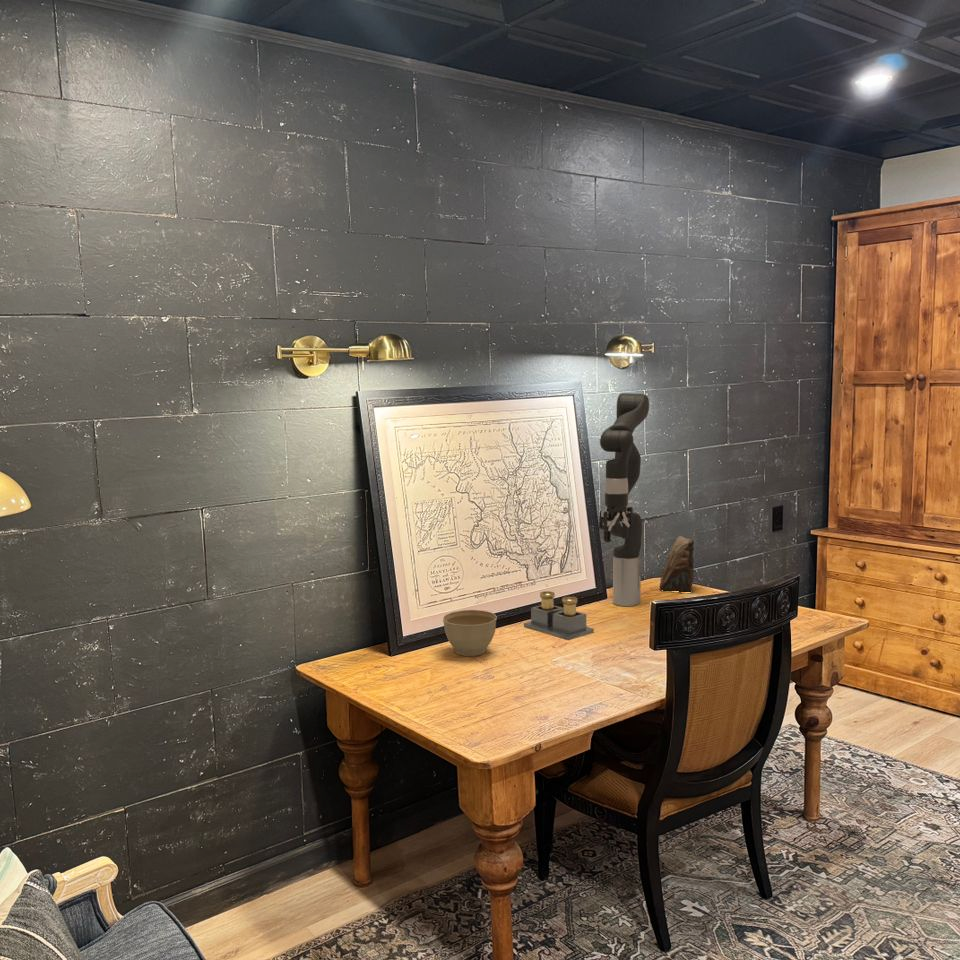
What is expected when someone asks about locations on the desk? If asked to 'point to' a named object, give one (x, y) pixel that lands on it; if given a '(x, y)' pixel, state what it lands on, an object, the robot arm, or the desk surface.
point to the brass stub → (569, 606)
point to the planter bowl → (470, 631)
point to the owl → (679, 567)
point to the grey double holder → (556, 619)
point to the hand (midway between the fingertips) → (616, 540)
